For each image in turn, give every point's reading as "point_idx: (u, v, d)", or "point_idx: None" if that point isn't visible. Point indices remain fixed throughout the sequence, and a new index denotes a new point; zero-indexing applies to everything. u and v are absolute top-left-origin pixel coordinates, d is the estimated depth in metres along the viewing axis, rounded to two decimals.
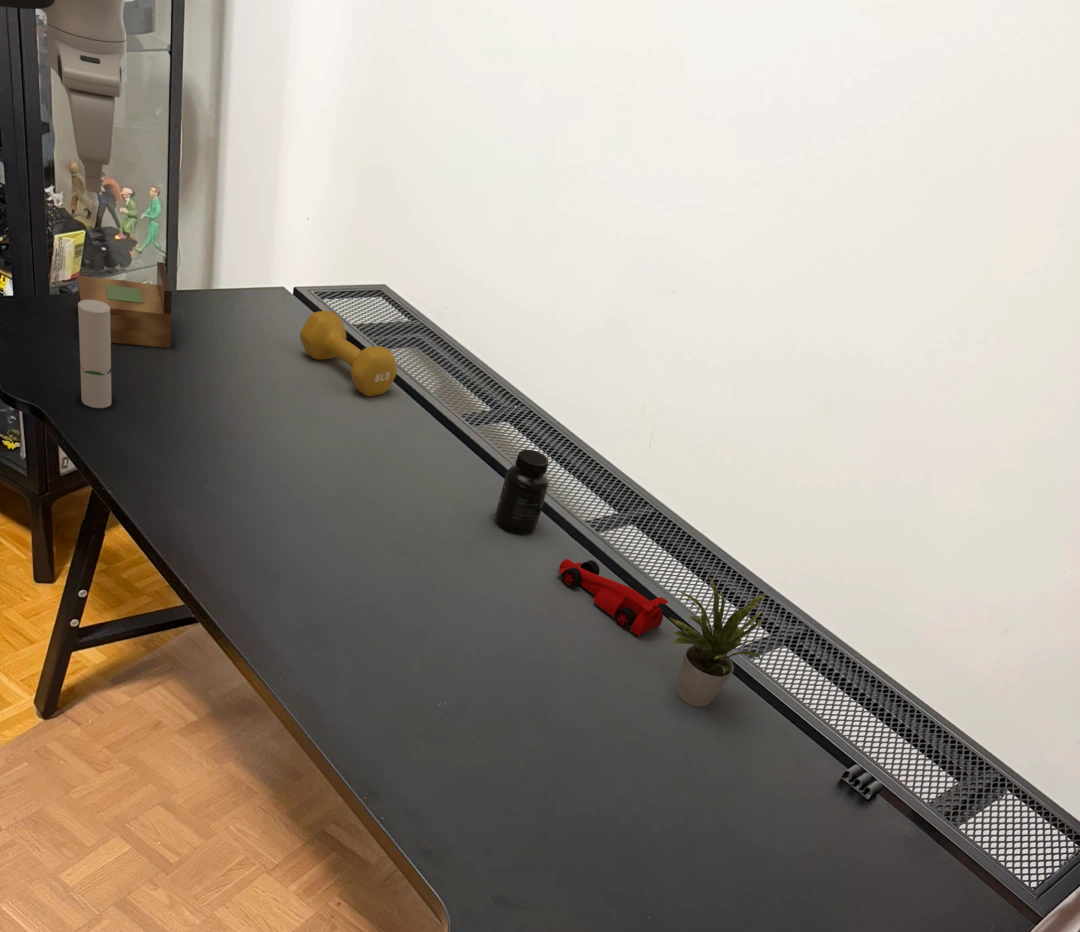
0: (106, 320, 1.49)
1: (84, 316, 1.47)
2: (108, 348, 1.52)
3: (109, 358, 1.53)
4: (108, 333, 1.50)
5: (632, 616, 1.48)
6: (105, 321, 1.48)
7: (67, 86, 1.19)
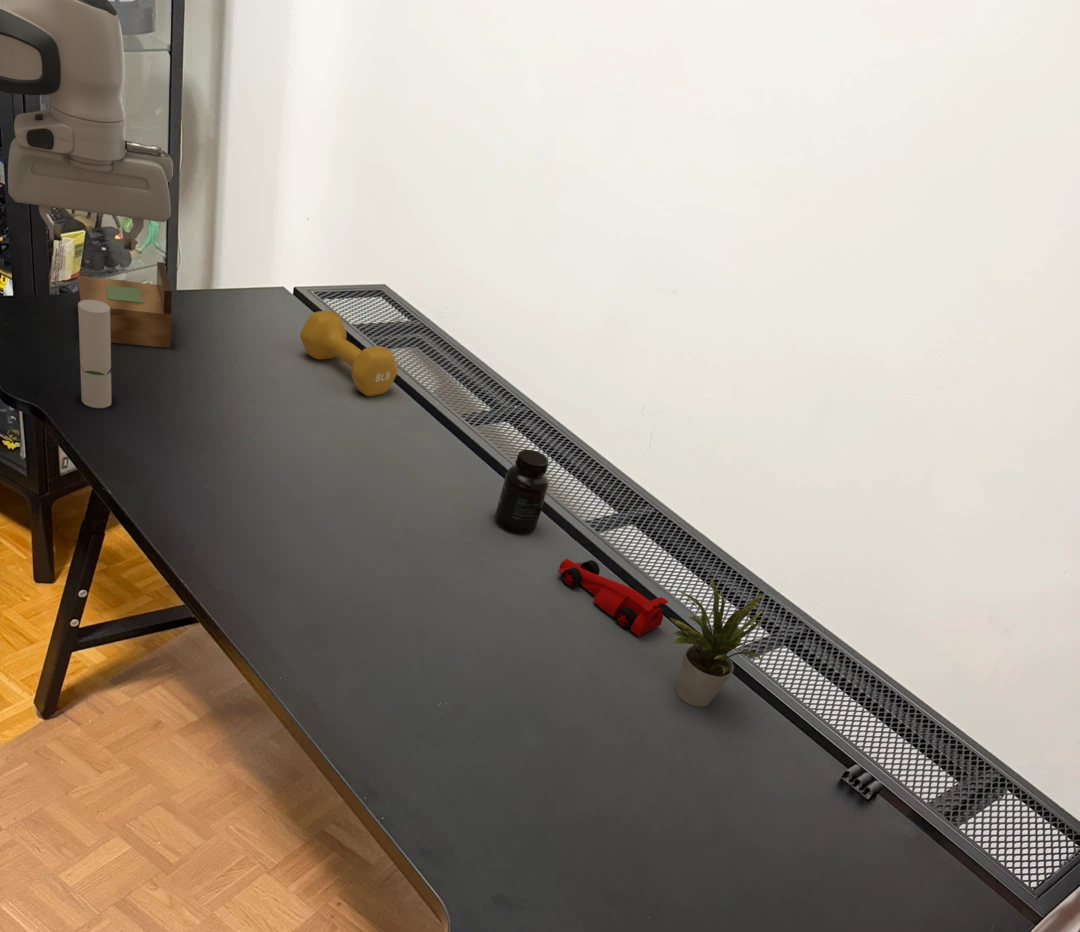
0: (106, 320, 1.49)
1: (84, 316, 1.47)
2: (108, 348, 1.52)
3: (109, 358, 1.53)
4: (108, 333, 1.50)
5: (632, 616, 1.48)
6: (105, 321, 1.48)
7: None
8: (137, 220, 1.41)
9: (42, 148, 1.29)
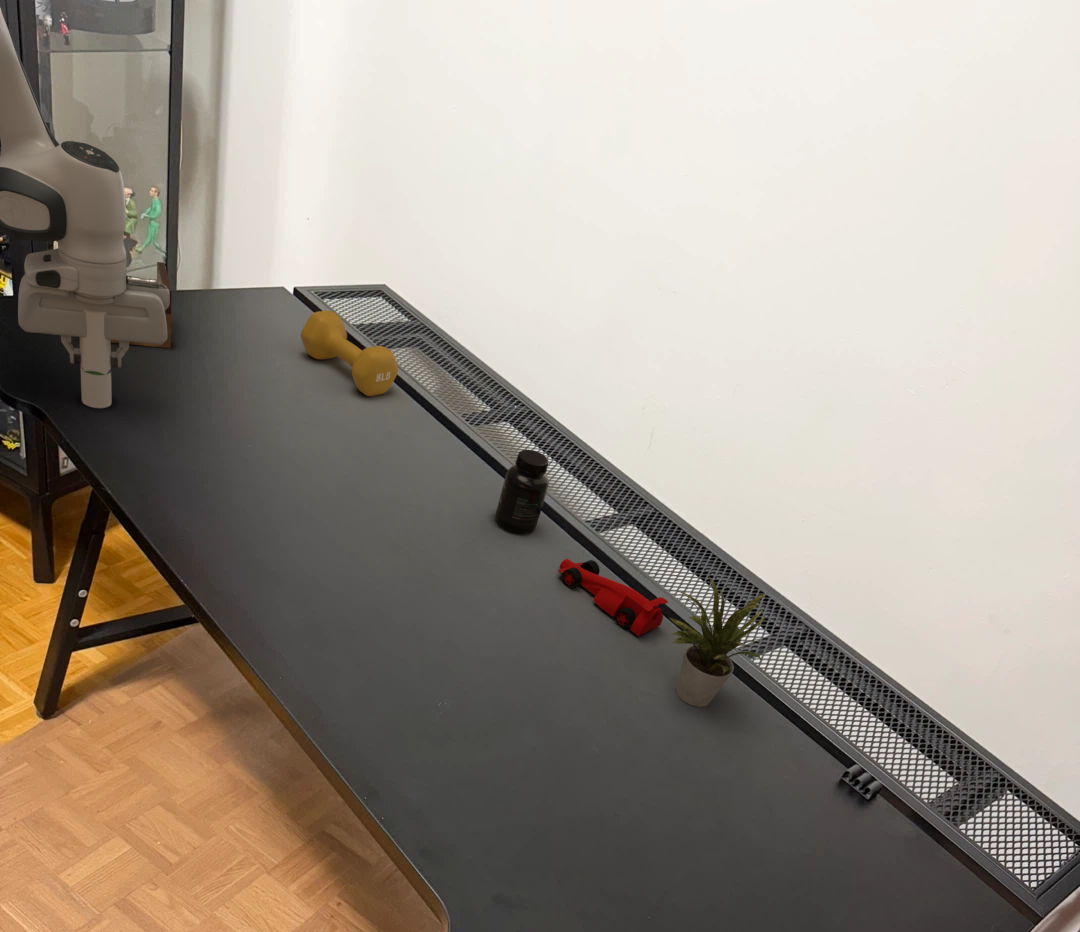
0: None
1: None
2: (108, 348, 1.52)
3: (109, 358, 1.53)
4: None
5: (632, 616, 1.48)
6: None
7: None
8: (123, 342, 1.52)
9: (50, 287, 1.41)
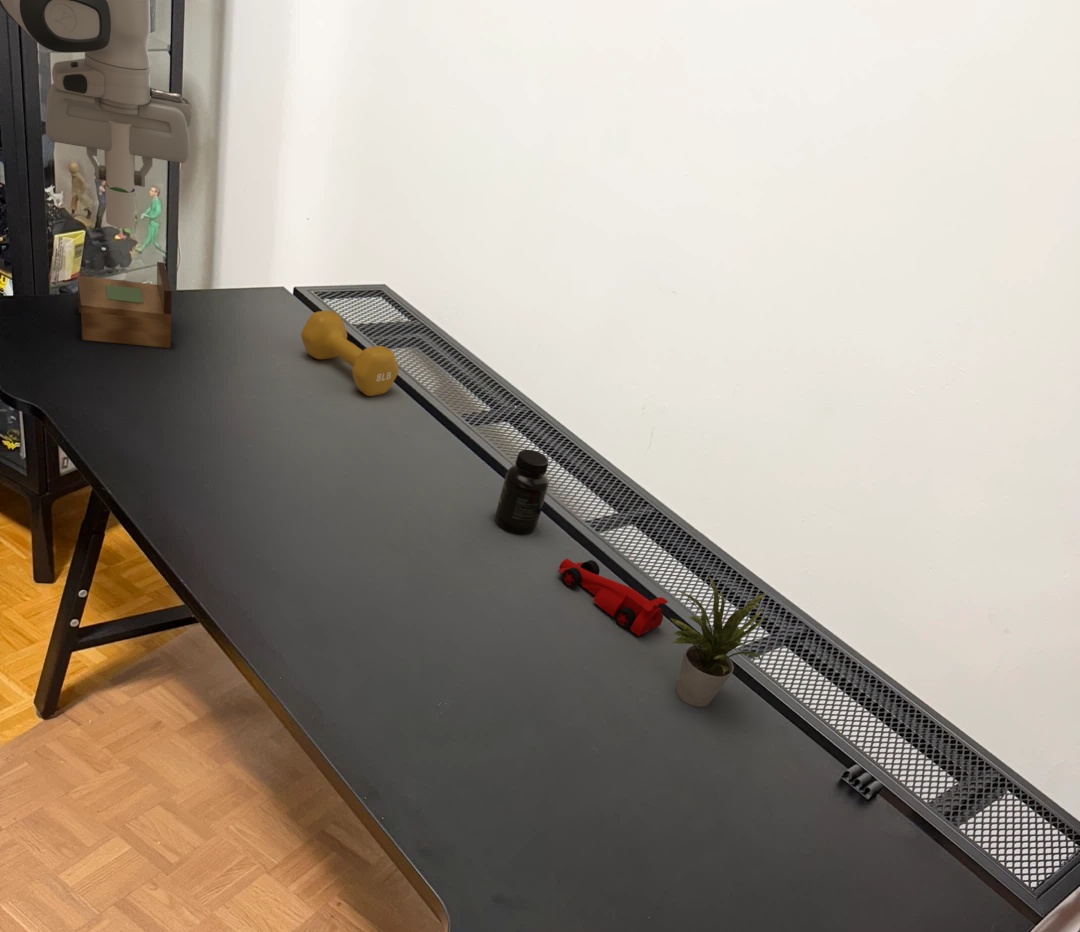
0: None
1: None
2: (132, 165, 1.56)
3: (133, 176, 1.57)
4: None
5: (632, 616, 1.48)
6: None
7: None
8: (147, 159, 1.56)
9: (77, 92, 1.46)
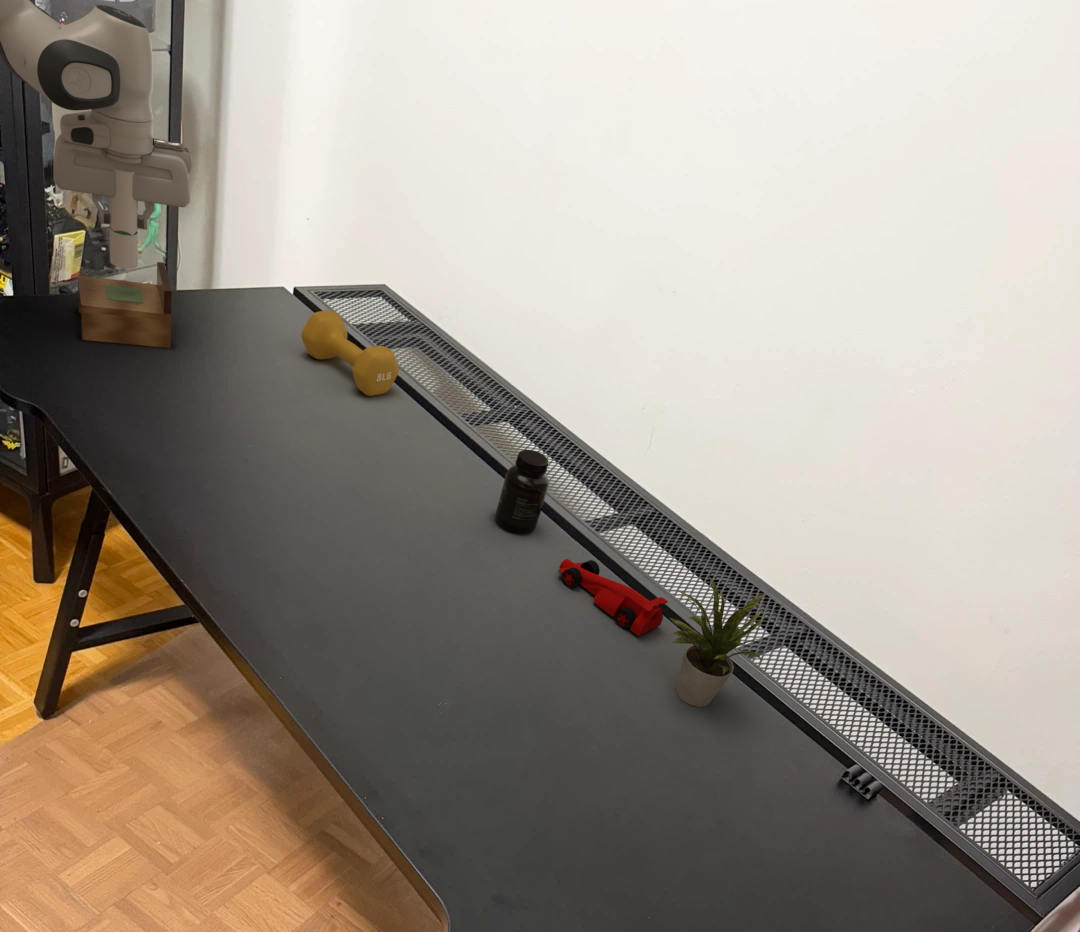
0: None
1: None
2: (136, 209, 1.64)
3: (136, 219, 1.65)
4: None
5: (632, 616, 1.48)
6: None
7: None
8: (149, 204, 1.64)
9: (83, 143, 1.54)
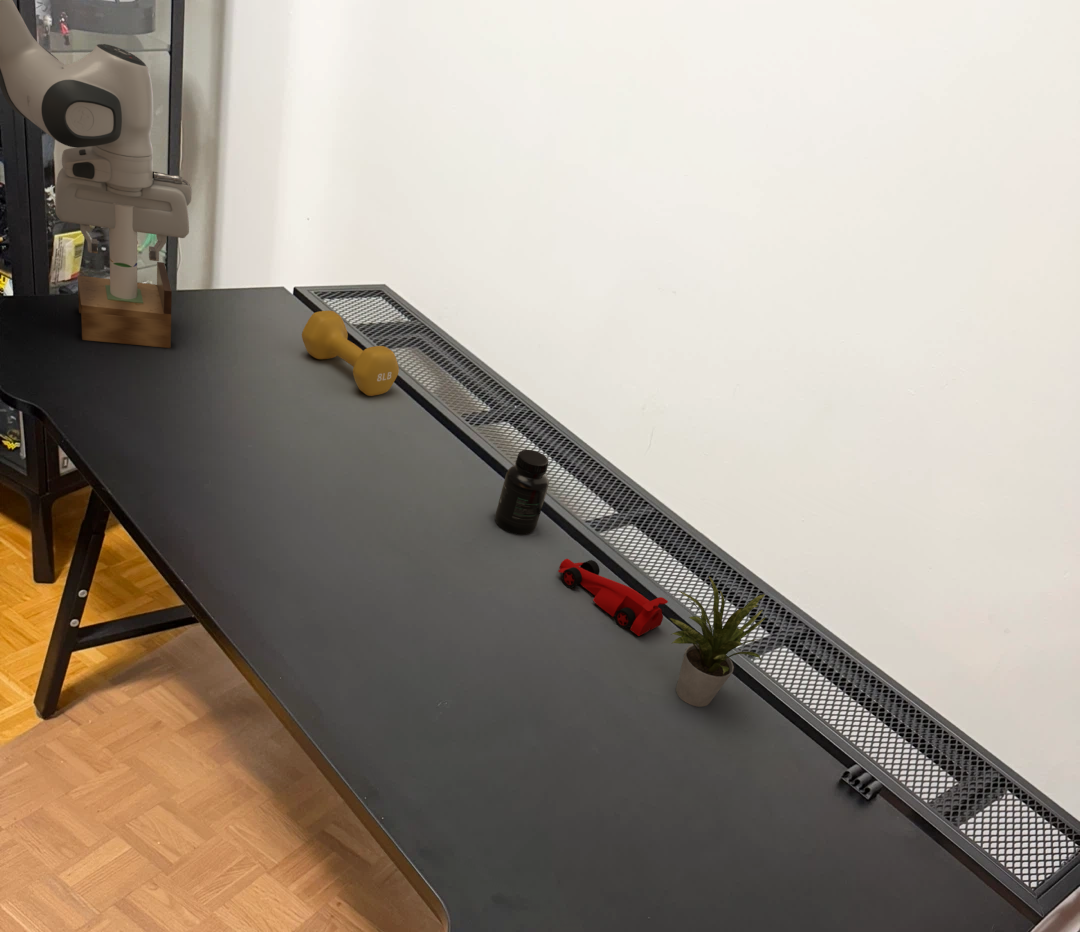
0: None
1: None
2: (135, 242, 1.67)
3: (136, 251, 1.69)
4: None
5: (632, 616, 1.48)
6: None
7: None
8: (161, 236, 1.68)
9: (85, 178, 1.57)
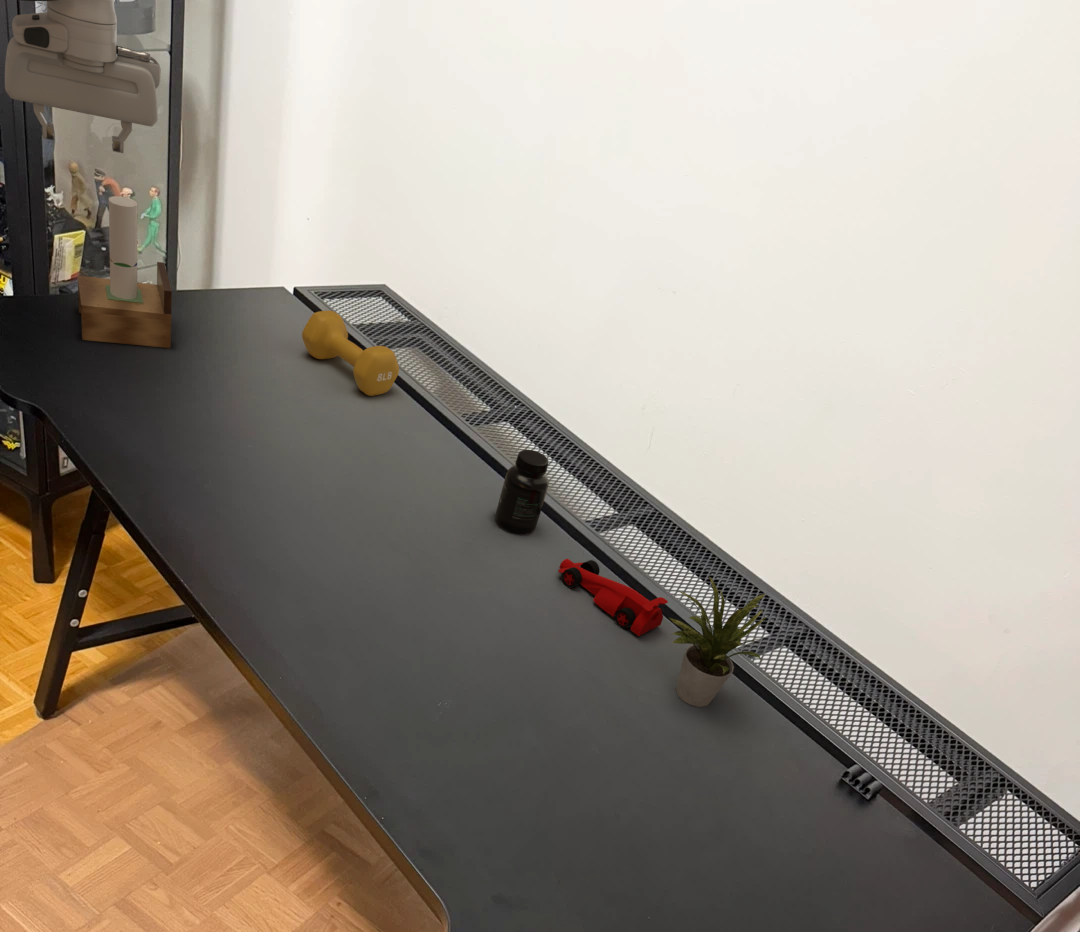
0: (134, 214, 1.64)
1: (114, 210, 1.63)
2: (135, 242, 1.67)
3: (136, 251, 1.69)
4: (135, 227, 1.66)
5: (632, 616, 1.48)
6: (133, 215, 1.64)
7: None
8: (126, 123, 1.50)
9: (38, 46, 1.38)
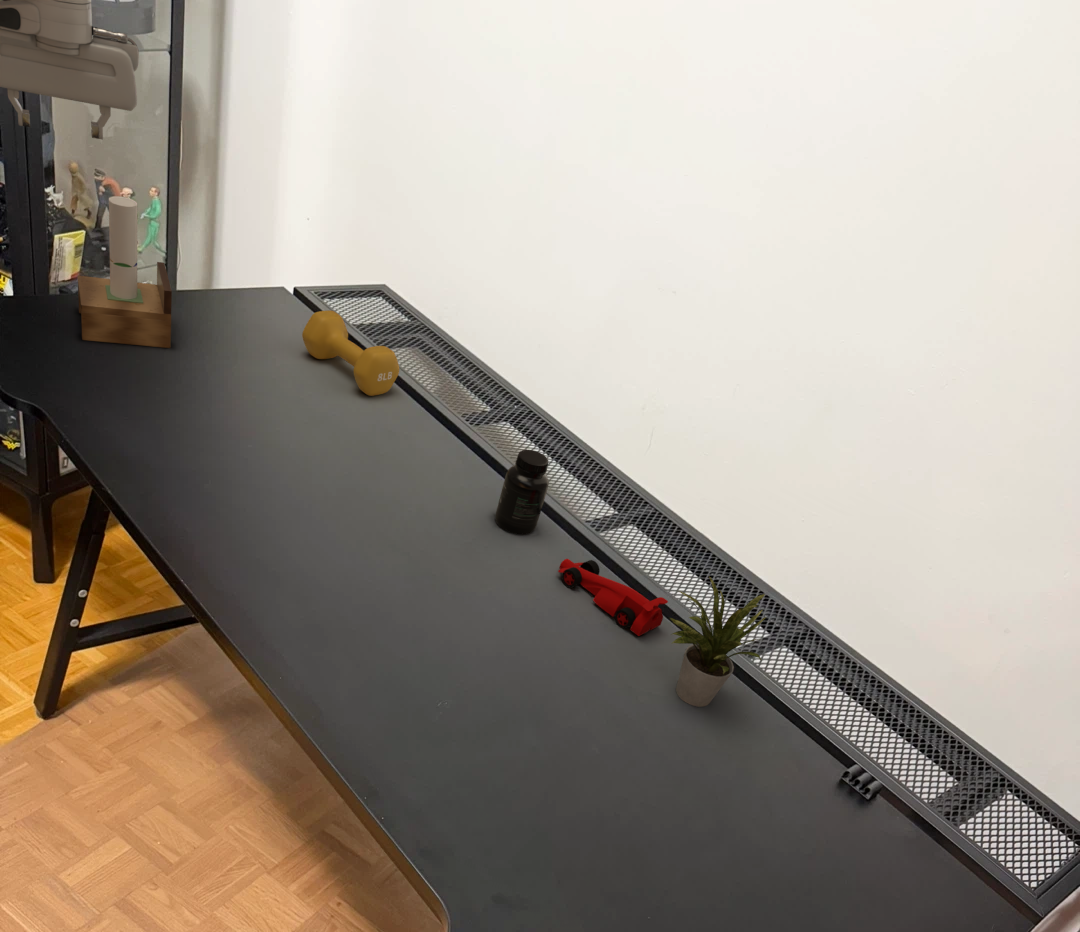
0: (134, 214, 1.64)
1: (114, 210, 1.63)
2: (135, 242, 1.67)
3: (136, 251, 1.69)
4: (135, 227, 1.66)
5: (632, 616, 1.48)
6: (133, 215, 1.64)
7: None
8: (104, 108, 1.44)
9: (9, 28, 1.33)
